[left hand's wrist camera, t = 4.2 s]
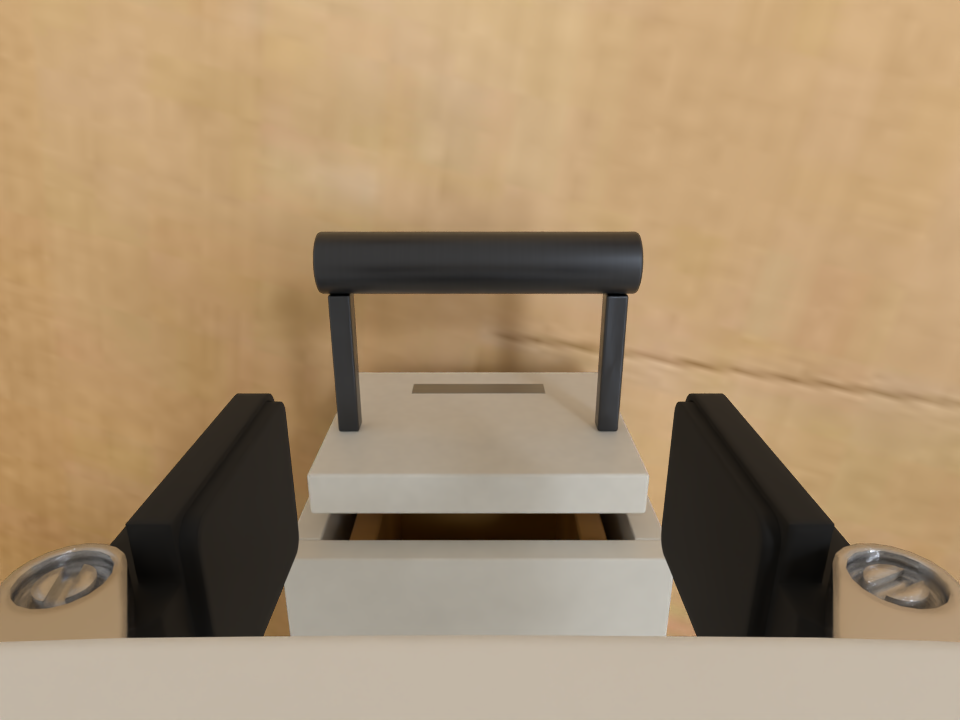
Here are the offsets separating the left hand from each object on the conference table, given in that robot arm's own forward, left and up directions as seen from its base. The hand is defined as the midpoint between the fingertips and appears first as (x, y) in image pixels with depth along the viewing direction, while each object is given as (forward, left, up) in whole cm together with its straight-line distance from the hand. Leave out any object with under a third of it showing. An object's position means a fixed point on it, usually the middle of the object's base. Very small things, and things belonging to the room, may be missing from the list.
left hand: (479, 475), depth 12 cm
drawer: (-8, +2, -12) cm, 15 cm away
